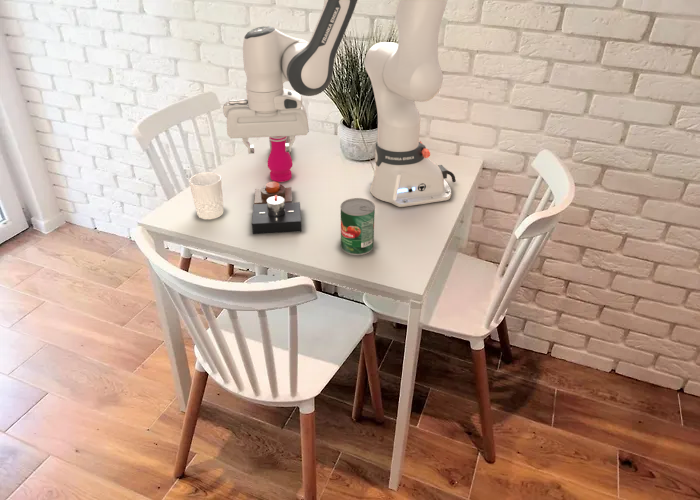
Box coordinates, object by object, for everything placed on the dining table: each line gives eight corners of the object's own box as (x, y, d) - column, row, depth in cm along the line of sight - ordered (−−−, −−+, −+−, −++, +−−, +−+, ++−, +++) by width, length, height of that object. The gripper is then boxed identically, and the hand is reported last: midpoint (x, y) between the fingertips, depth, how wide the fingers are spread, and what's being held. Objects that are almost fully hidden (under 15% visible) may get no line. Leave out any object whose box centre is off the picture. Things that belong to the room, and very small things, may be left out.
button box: (291, 192, 157) (291, 181, 155) (292, 206, 150) (291, 195, 148) (255, 194, 156) (254, 183, 154) (254, 208, 149) (253, 196, 147)
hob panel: (300, 211, 148) (299, 201, 146) (301, 231, 139) (301, 220, 138) (254, 214, 147) (253, 203, 145) (252, 234, 138) (251, 223, 137)
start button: (279, 187, 153) (279, 181, 152) (279, 193, 150) (279, 187, 149) (266, 187, 153) (265, 181, 152) (266, 193, 150) (265, 187, 149)
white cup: (215, 223, 143) (210, 188, 137) (189, 217, 145) (182, 183, 140) (231, 209, 149) (226, 174, 143) (205, 203, 151) (200, 170, 146)
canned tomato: (335, 250, 132) (334, 210, 126) (348, 234, 138) (348, 195, 132) (366, 258, 130) (367, 217, 124) (378, 241, 136) (380, 201, 130)
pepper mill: (289, 184, 161) (284, 117, 150) (265, 181, 162) (259, 115, 151) (296, 173, 167) (292, 108, 156) (273, 171, 168) (267, 106, 157)
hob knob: (284, 216, 140) (283, 203, 138) (267, 216, 139) (265, 203, 137) (285, 207, 143) (284, 194, 141) (268, 208, 143) (267, 195, 141)
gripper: (221, 104, 132) (228, 159, 139) (308, 101, 134) (310, 155, 141) (222, 96, 137) (229, 148, 145) (306, 93, 139) (308, 145, 147)
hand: (270, 151), depth 143 cm, fingers open, 8 cm apart
